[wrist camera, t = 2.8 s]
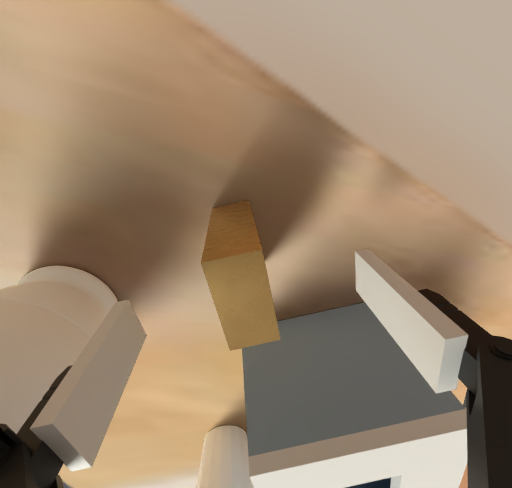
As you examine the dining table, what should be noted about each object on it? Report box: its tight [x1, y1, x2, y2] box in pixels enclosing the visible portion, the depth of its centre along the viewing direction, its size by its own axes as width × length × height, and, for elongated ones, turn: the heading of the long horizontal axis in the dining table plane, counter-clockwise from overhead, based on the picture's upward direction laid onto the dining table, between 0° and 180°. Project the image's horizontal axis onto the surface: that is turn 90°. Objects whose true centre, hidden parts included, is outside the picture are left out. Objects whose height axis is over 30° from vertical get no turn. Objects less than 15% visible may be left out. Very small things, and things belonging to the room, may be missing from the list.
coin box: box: [242, 302, 467, 488], centre depth 24 cm, size 16×14×12 cm
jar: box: [0, 266, 118, 434], centre depth 16 cm, size 11×10×15 cm
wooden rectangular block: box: [201, 200, 281, 351], centre depth 17 cm, size 6×3×9 cm, turn 11°
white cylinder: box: [197, 425, 254, 488], centre depth 30 cm, size 7×7×7 cm
